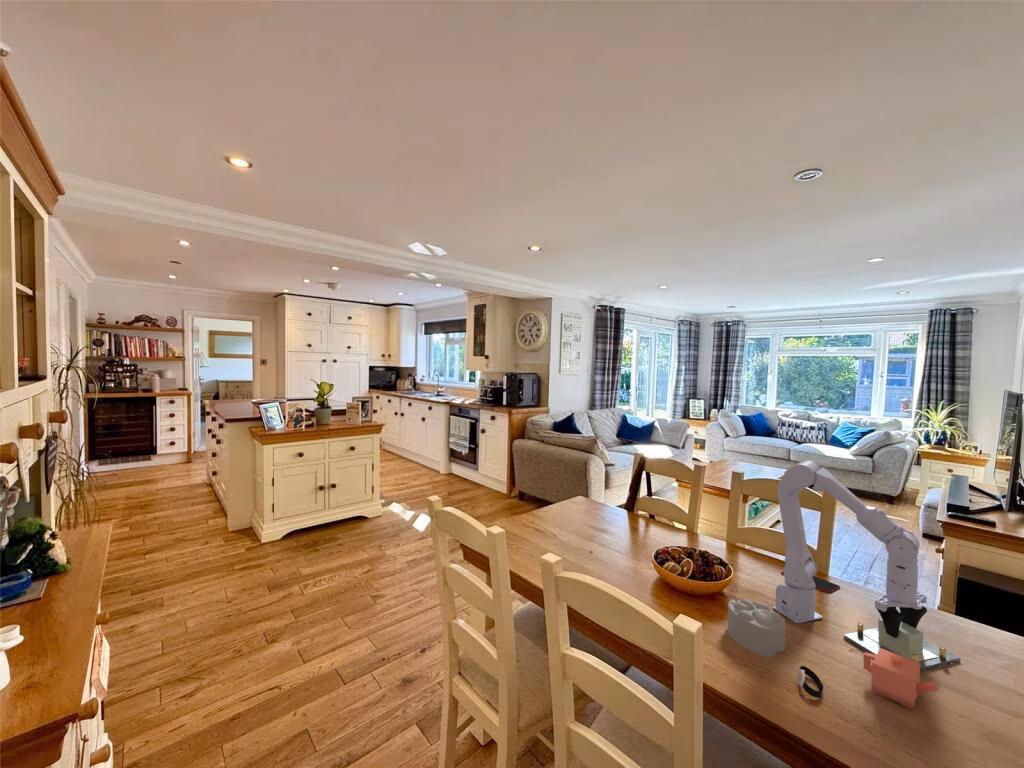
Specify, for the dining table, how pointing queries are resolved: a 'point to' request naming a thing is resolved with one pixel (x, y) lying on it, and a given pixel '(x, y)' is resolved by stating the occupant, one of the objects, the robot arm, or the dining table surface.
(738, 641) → the lumpy-topped squat cylinder
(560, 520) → the dining table surface
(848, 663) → the dining table surface
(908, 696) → the pink cube teapot
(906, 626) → the board block
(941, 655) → the chassis
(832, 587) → the smartphone
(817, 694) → the watch
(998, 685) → the dining table surface
